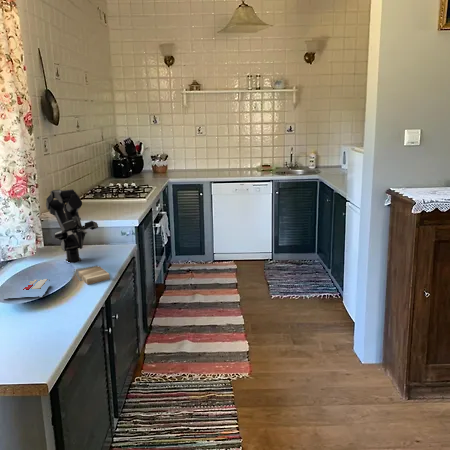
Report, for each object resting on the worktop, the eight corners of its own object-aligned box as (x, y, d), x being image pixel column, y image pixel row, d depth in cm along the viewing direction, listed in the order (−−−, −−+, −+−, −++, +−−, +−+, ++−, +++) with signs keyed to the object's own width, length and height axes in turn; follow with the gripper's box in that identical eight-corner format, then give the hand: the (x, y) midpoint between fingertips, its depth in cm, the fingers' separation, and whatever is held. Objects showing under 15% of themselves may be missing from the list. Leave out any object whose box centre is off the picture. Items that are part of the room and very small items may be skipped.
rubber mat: (73, 270, 213) (73, 269, 213) (97, 266, 217) (97, 265, 217) (79, 281, 199) (79, 281, 198) (104, 277, 203) (103, 276, 203)
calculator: (12, 281, 193) (49, 277, 194) (14, 290, 194) (51, 287, 195) (1, 291, 183) (40, 287, 183) (4, 301, 184) (42, 297, 184)
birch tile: (78, 271, 203) (86, 279, 194) (99, 266, 208) (109, 273, 199) (78, 276, 204) (87, 284, 194) (100, 271, 209) (109, 279, 199)
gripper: (44, 219, 206) (53, 253, 203) (84, 206, 205) (93, 240, 202) (56, 223, 217) (64, 255, 214) (94, 210, 216) (103, 242, 213)
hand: (81, 248), depth 211 cm, fingers closed
